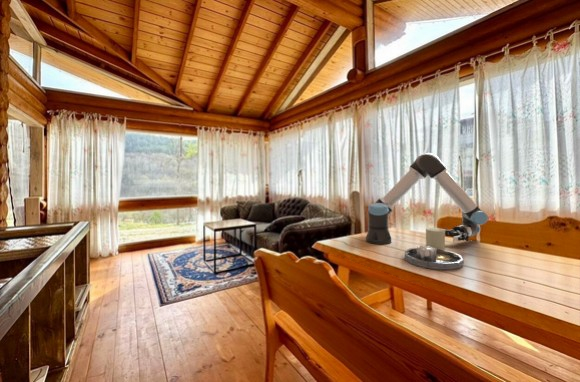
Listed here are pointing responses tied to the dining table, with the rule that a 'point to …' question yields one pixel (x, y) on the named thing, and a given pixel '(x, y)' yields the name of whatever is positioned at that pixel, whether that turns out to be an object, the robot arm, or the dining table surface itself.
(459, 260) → the carrier plate
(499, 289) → the dining table surface
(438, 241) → the can
